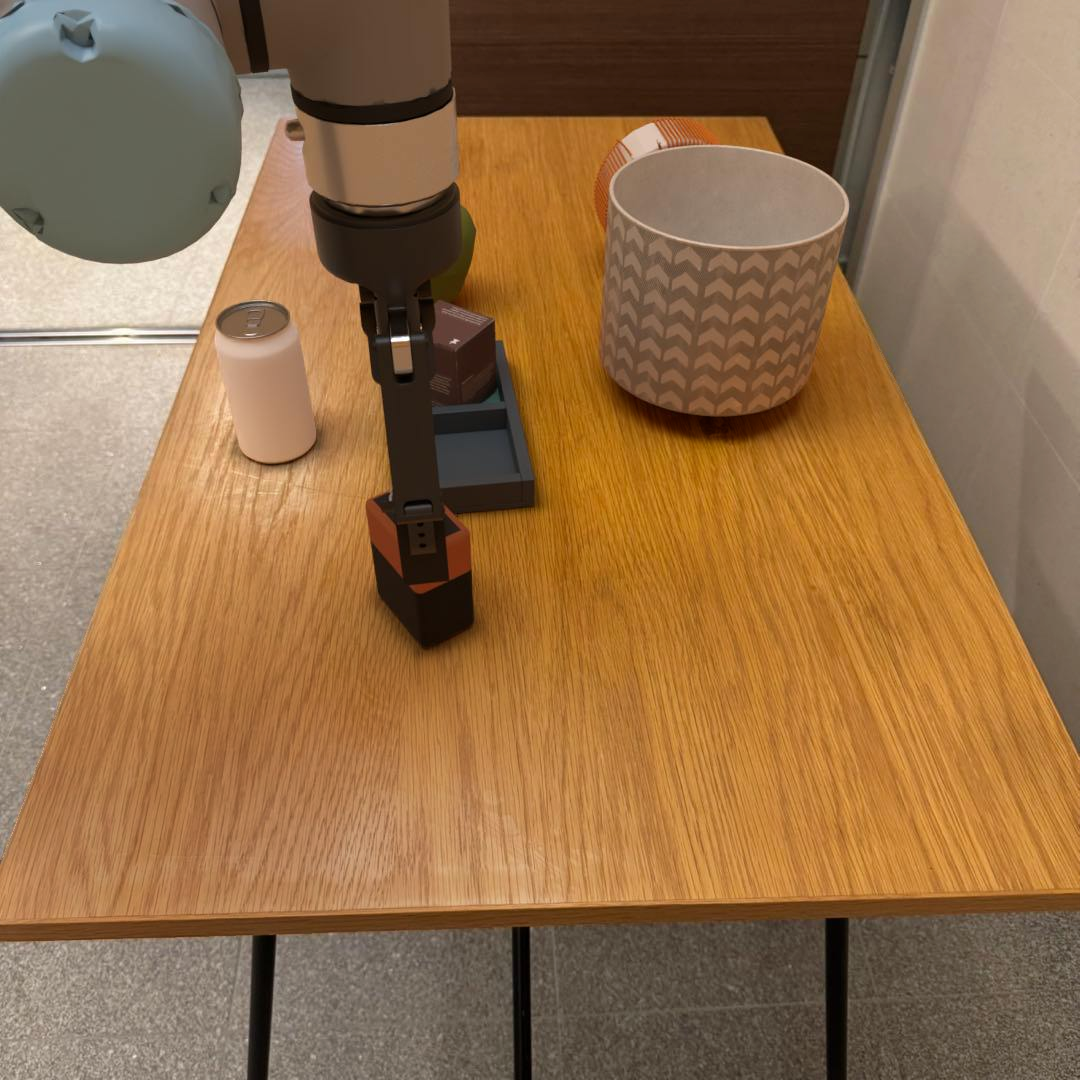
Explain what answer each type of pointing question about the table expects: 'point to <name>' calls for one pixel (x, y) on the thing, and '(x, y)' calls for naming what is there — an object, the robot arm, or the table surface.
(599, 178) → the coil
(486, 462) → the holder
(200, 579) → the table surface
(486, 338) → the box
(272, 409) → the can
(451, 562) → the battery
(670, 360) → the planter
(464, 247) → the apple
